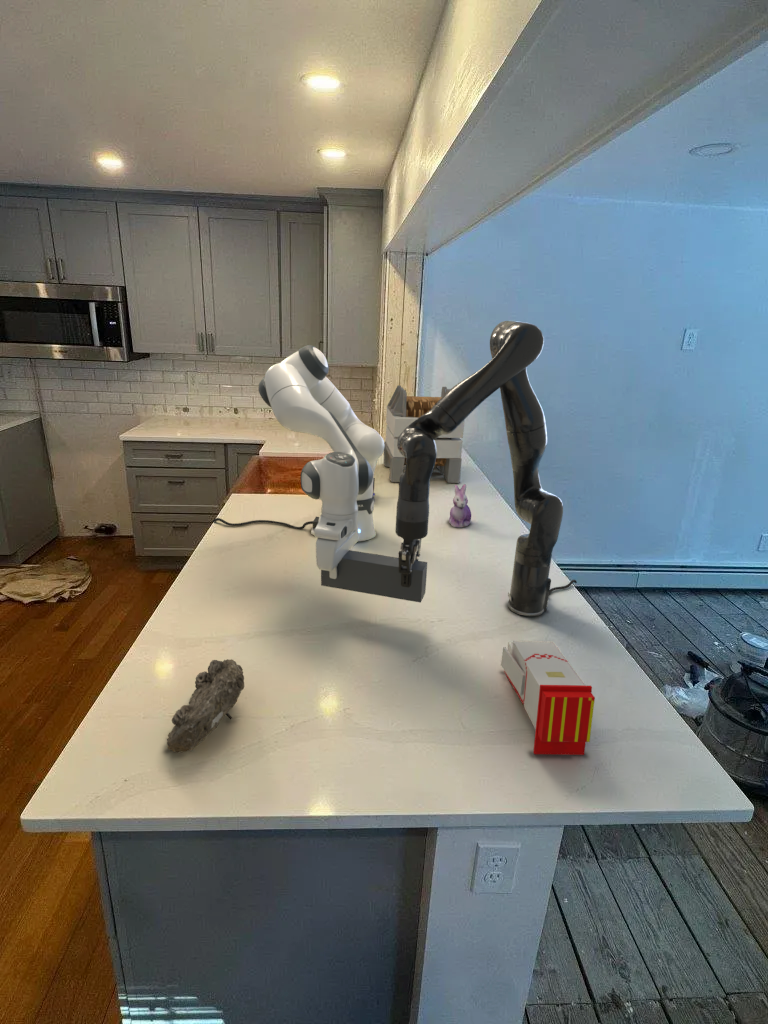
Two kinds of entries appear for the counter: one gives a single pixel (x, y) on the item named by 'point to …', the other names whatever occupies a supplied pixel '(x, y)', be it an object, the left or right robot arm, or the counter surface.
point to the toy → (550, 696)
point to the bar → (377, 576)
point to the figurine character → (373, 486)
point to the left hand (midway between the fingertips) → (338, 572)
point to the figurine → (460, 508)
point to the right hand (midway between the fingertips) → (408, 580)
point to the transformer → (448, 446)
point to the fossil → (206, 705)
